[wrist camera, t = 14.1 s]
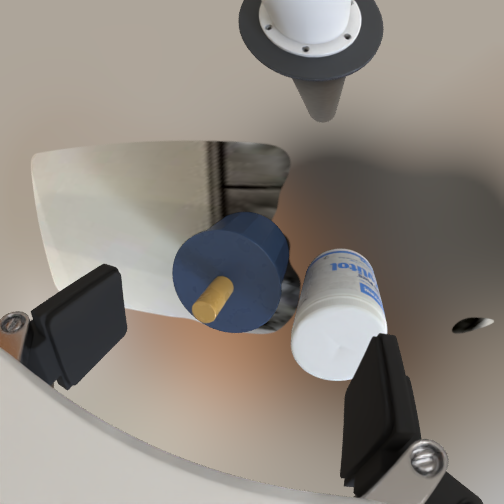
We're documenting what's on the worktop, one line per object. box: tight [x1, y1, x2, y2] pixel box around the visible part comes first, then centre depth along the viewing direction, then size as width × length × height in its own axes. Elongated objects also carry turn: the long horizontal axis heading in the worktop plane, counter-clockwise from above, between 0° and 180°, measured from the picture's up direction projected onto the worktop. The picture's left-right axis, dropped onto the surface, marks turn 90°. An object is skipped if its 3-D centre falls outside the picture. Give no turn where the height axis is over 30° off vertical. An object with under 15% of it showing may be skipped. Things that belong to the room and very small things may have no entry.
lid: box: [172, 229, 281, 333], centre depth 29 cm, size 12×12×7 cm
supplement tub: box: [291, 249, 387, 381], centre depth 31 cm, size 10×10×15 cm
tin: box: [208, 212, 289, 284], centre depth 35 cm, size 11×11×10 cm
